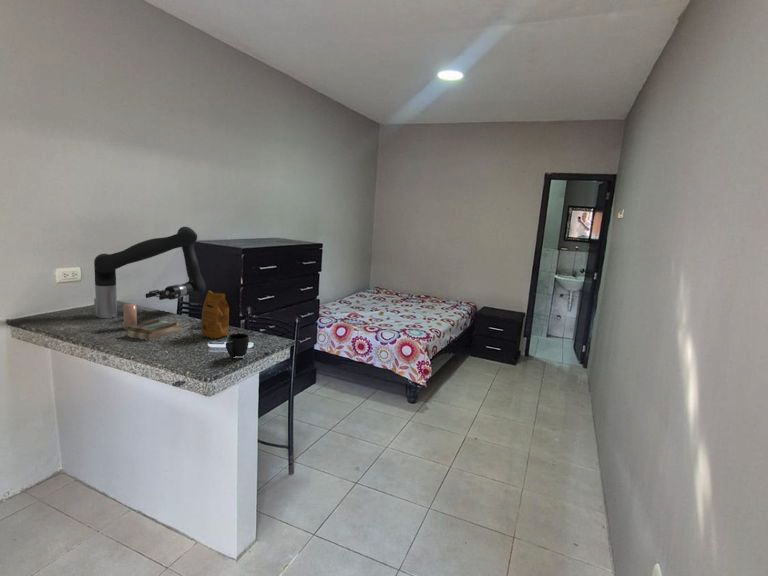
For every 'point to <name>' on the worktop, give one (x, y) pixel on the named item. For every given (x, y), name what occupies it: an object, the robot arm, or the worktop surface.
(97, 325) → the worktop surface
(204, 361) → the worktop surface
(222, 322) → the coffee package
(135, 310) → the canister
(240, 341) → the mug
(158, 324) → the wooden tray
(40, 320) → the worktop surface
